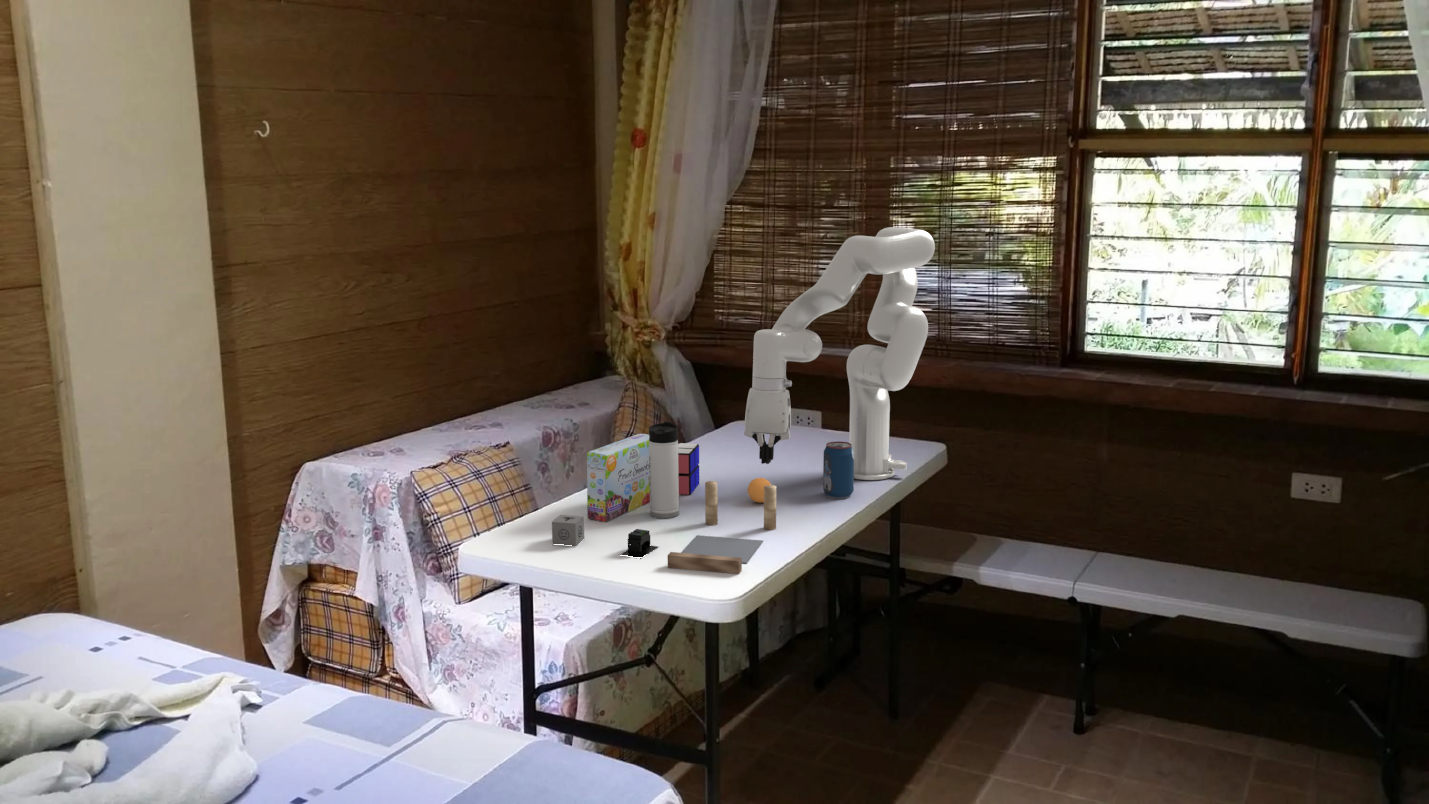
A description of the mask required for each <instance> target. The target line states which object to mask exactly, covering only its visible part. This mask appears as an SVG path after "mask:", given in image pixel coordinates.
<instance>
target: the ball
mask: <svg viewBox="0 0 1429 804" xmlns="http://www.w3.org/2000/svg"><path fill="white" fill-rule="evenodd" d="M765 485H772V483H771V482H770V481H769V480H768V479H766V478H763V477H757V478H753V479H752V480H751V481H750V482H749V483H748V485H747V495H748V497H749V498H750V499H751V501H753V502H754V503H758V504H762V503H763V504H764V486H765Z"/></svg>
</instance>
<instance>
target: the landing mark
mask: <svg viewBox="0 0 1429 804" xmlns="http://www.w3.org/2000/svg"><path fill="white" fill-rule="evenodd" d="M763 542H764V540H761V539H751V538H750V539H749V538H737V537H727V536H726V537H724V536H712V535H711V536H710V535H700V534H697V535H695V537H694V538H693V539H692V540H691V541H690V542H689V543H688V544H687V545H686V546H685V547H684V549H682V550H681V552H680V553H690V554H702V555H714V556H725V557H737V558H742V564H748V563H749V561H750V560H751V559H752V557H753V556H754V555H755V553H756V552H757V550H758V549H760V546H761V545H762V544H763Z"/></svg>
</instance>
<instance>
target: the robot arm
mask: <svg viewBox="0 0 1429 804" xmlns="http://www.w3.org/2000/svg"><path fill="white" fill-rule="evenodd" d="M935 250H936V245H935V241H934V238H933V237H932V235H931V234H930V233H929V232H927V231H926V230H923V229H918V228H908V227H907V228H906V227H897V226H891V227H889V226H888V227H884V228H883V229H880V230H879V231H878V232H877V234H876V235H875V236H871V235H870V236H869V235H868V236H867V235H853V236H850V237H848V238H847V239H846V240H844V242H843V243H842V245H841V246H840V247H839V249H838V250H837V252H836V253H835V255H834V256H833V258H832V260H831V261H830V262H829V264H828V266H827V267H826V268H825V270H824V272H823V273H822V275H821V276H820V278H819V279H818V280H817V282H816V283H815V284H814V285H813V286H812V287H810V288H808V289H807V290H806V291H804V292H803V293H802V294H800V296H798V297H797V298H795V299H794V300H793V301H792V302H791V303H789V304H788V305H787V307H786V308H785V309H784V310H783V312H781V314H780V316H779V317H778V319H777V320H776V322H775V324H773V327H772V328H771V329H770V328H768V329H767V328H766V329H760V330H757V331H756V332H755V333H754V335H753V349H752V350H753V354H752V355H753V356H752V359H753V360H752V362H753V363H752V380H751V381H752V383H751V384H752V385H751V386H752V387H750V388H749V390H748V395H747V399H746V407H745V415H744V416H745V417H744V432H743V435H744V436H745V437H747V438H751V439H753V440H754V441H755V442H756V444H757V445H758V446H759V453H758V454H759V460H761V462H760V463H761V465H765V464H766V465H769V464H770V463H771V462H772V461H773V460H774V453H775V451H774V450H775V448H774V447H775V445H776V444H777V443H779V442H780V441H785V440H786V441H787V440H789V439H790V438H791V431H790V429H792V428H791V427H792V426H791V425H792V413H791V412H792V411H791V409H792V408H791V398H790V391H789V390H788V389H787V388H789V387H792V385H793V382H792V380H789V379H788V378H787V373H786V372H787V362H797V363H809V362H812V361H814V360H816V359H817V358H818V356H820V354H821V353H822V349H823V342H822V340H821V339H822V338H821V337H820V336H819V334H817V333H816V332H814V330H810V329H806V328H807V327H808V326H809V325H810V324H811V323H812V322H813V321H814V320H816V319H817V318H818V317H820V316H823V315H825V314H828V313H831V312H834V311H836V310H838V309H841V308H842V307H845V306H846V305H847V304H848V303H849V301H850V300H851V298H852V297H853V295H854V294H855V292H856V291H857V289H858V288H859V286H860V284H862V281H863V280H864V278H866V276H867V275H868V274H871V275H882V281H881V285H880V288H879V292H878V294H877V297H876V299H875V302H874V304H873V307H872V309H871V312H870V314H869V315H870V316H869V318H868V321H867V333H868V334H869V336H870V337H871V338H873V339H874V340H876V341H879V342H881V343H886V344H887V346H886V347H883V346H880V345H875V344H862V345H858V346H856V347H855V348H853V350H852V351H851V352H850V353H849V354H848V358H847V360H846V373H847V374H846V375H847V379H848V380H847V381H848V386H849V437H848V438H849V442H848V443H851V444H852V446H851V447H852V449H853V451H854V480H860V481H862V480H863V481H877V480H878V481H879V480H886V479H890V478H892V477H894V476H895V473H896V472H895V470H901V471H906V470H907V466H908V465H907V464H908V463H907V461H904V460H901V459H897V460H894V458H892V453H889V452H890V451H889V450H890V449H889V448H890V447H889V446H890V445H889V443H890V412H891V403H890V401H891V400H890V396H889V391H890V392H891V391H892V392H896V391H900V390H902V389H904V388H905V387H906V386H907V385H908V384H909V382H910V380H911V379H912V377H913V375H914V373H915V370H916V368H917V365H918V362H919V360H920V357H921V355H922V352H923V349H924V347H925V345H926V342H927V341H926V340H927V338H928V334H929V322H928V318H927V316H926V314H925V313H924V312H923V311H922V309H919V308H917V307H915V306H913V305H914V301H915V298H916V295H917V291H918V285H919V282H918V273H917V270H916V268H920V267H923V266H924V265H926V264H927V263H929V262H930V261H931V260H932V258H933V256H934V254H935ZM766 435H769V438H768V442H767V440H766Z"/></svg>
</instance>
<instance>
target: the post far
mask: <svg viewBox="0 0 1429 804" xmlns="http://www.w3.org/2000/svg"><path fill="white" fill-rule="evenodd" d="M704 492H705V493H704V498H705V499H704V503H705V504H704V505H705V506H704V510H705V513H704V514H705V515H704V516H705V520H704V521H705V522H704V523H705V525H706V526H717V525H718V520H719V517H718V516H719V515H718V514H719V513H718V512H719V511H718V508H719V507H718V499H719V498H718V496H719V495H718V482H717V481H716V480H707V481H705V482H704Z"/></svg>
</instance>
